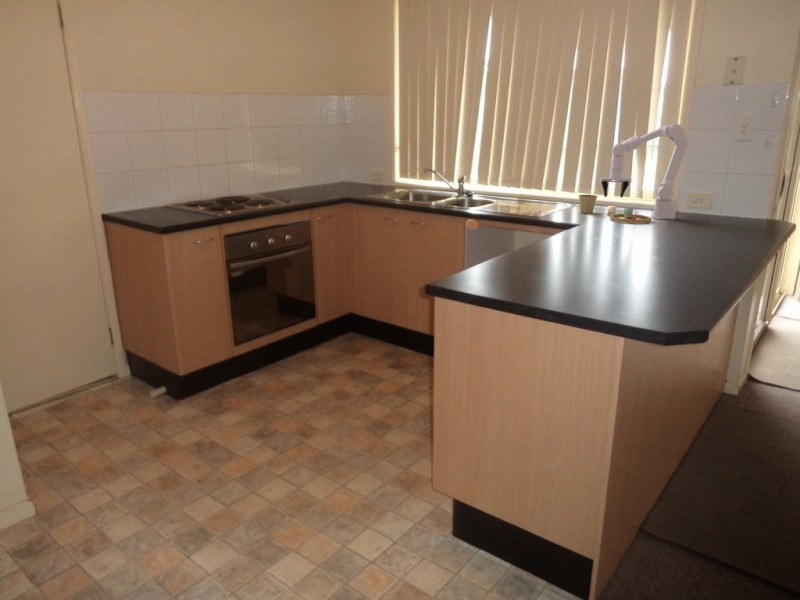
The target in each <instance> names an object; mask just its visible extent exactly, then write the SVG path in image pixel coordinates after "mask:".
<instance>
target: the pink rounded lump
mask: <svg viewBox="0 0 800 600" xmlns="http://www.w3.org/2000/svg"><path fill="white" fill-rule="evenodd" d="M464 225H465V226H464V227H465V228H466V229H469V230H472V231H476V230H477V229H479V222H478V221H477V220H474V219H470V218H469V219H467V220H466V221H465V223H464Z"/></svg>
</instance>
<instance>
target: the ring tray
mask: <svg viewBox="0 0 800 600" xmlns="http://www.w3.org/2000/svg"><path fill="white" fill-rule="evenodd" d="M623 216H624V213H616V214H613V215H610V216H609V219H610V221H612V222H615V223H620V224H629V225H631V224H632V225H644V224H646V225H647V224H650V223H651V222H652V218H653V217H651V216H647V215H643V214H634V213H633V215H625V218H623Z"/></svg>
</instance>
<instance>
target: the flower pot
mask: <svg viewBox="0 0 800 600" xmlns="http://www.w3.org/2000/svg"><path fill="white" fill-rule="evenodd" d="M598 196H599V195H595V194H594V195H593V194H578V199H579V209H580V210H579V212H580V213H582V214H593V213H594V209H595V205H596V201H597V199H598Z"/></svg>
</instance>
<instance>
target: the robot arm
mask: <svg viewBox="0 0 800 600" xmlns="http://www.w3.org/2000/svg"><path fill="white" fill-rule="evenodd" d="M659 137H665V138H666V137H668V138H669V139H670V140H671V141H672V143H673V145H674V149H673V152H672V155H671V157H670V160H669V163H668V165H667V168H666V172H665V174H664V177H663V179H662V181H661V183H660V185H659V186H658V187H657V188H656V195H657V197H655V203H654V210H653V214H651V215H650V218H653V219H654V220H657V219H659V220H660V219H661V220H662V219H663V220H676V214H677V206H678V205H677V204H678V203H677V201H676V200H675V199H672V198H673V195H674V186H675V180H676V177H677V175H678V172H679V169H680V166H681V164H682V160H683V158H684V156H685V152H686V150H687V148H688V144H689V143H688V139H687V135H686V130H685V129H684V128H683V127H682V125H680V124H679V123H678V124H677V123H676V124H675V123H671V124H669V125H665V126H661V127H659V128H657V129H654V130H653V131H650V132H648V133H646V134H643V135H642V136H638V135H632V136H630V138H629V139H626V140H622V141H621V142H620V143H616V144H614V146H613V147H612V149H611V152H612V156H611V160H610V168H609V169H610V172H609V177H599V182H600V183H601V185H602V189H603V195H604V196H603V197H605V198H607V196H608V187H609V183H621V188H620V196H619V197H620V198H623V197H624V194H625V192H626V190H627V188H628V187H629V185H630V183H632V178H627V177H623V171H624V163H625V159H624V158H625V154H626V153H630V152H632V151H635V150H636V149H639V148H641V147H642V145H643V144H644V143H646V142H649V141H651V140H654V139H657V138H659Z"/></svg>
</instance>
